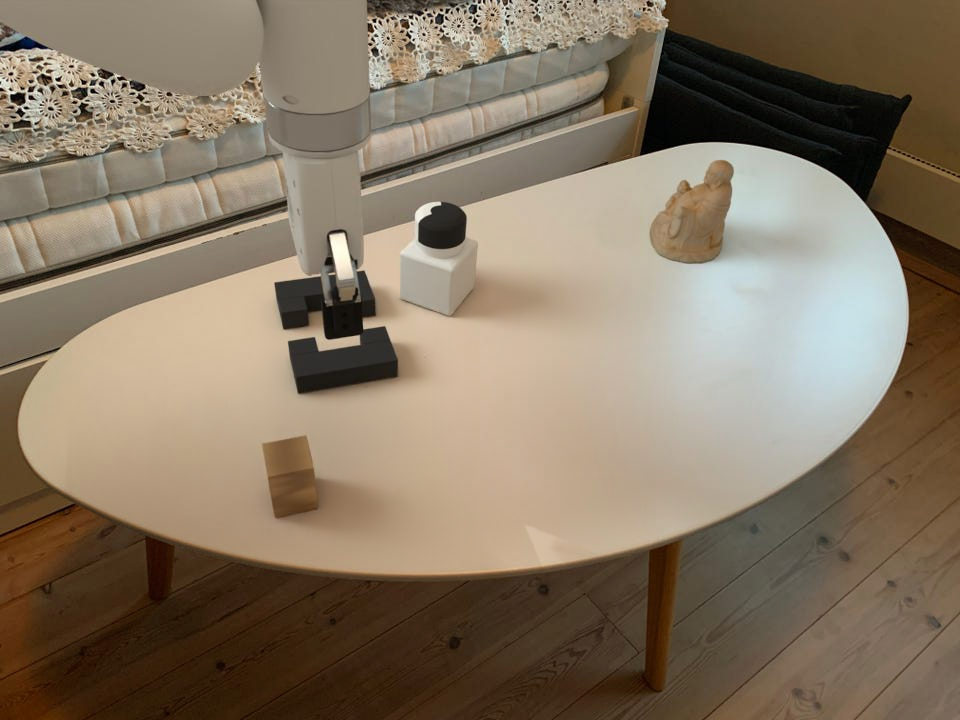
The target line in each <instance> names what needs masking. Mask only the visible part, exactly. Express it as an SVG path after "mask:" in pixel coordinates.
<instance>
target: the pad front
mask: <svg viewBox="0 0 960 720" xmlns="http://www.w3.org/2000/svg"><path fill="white" fill-rule="evenodd" d="M287 347H288V354H289V361H290V364H291V365H290V366H291V369H292V374H293V378H294V382H295V386H296V391H297V394H305V393H311V392H317V391H322V390H328V389H334V388H339V387H345V386H351V385H357V384H361V383H367V382H374V381H380V380H385V379H390V378H391V379H392V378H396V377H398V376H399V359H398V356H397V354H396V351H395V348H394V346H393V344H392V341H391V337H390V335H389V332H388V329H387V327H386V326H385V325H382V326H377V327H370V328H363V333H362V334H361V335H359V344H356V345H351V346H350V345H349V346H345V347H338V348H331V349H325V350H319V347H318V343H317V339H316V337H315V336H312V337H305V338H304V337H303V338H299V339H298V338H297V339H291V340H288V341H287Z"/></svg>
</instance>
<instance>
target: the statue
mask: <svg viewBox="0 0 960 720" xmlns="http://www.w3.org/2000/svg"><path fill="white" fill-rule="evenodd" d="M734 174H735V169H734V166H733V164H732V163H730V162H729V161H727V160H726V159H717V160H713V161H712V162H710V163H709V166H708V167H707V169H706V170H705V176H704V177H703V182H702V183H699V184H696V185H694V186H693V187H691V184H690V183H689V181H687V180H686V179H683V180H681V181H680V182H679V184H678V185H677V187H676V191H675V192H674V193H672V195H670V197H669V198H668V200H667V201H666V203H665V206H664V207H665V209H664V210H662V211H659V212H658V214H657V215H656V216H655V217H654V219H653V222H652V223H651V226H650V229H649V238H650V243H651V245H652V247H653V248H654V251H656V254H657V255H660V256H662V257H663V258H666V259H668V260H671V261H676V262H681V263H684V264H686V263H687V264H694V263H697V264H702V263H705V262H710V261H712V260H714V259H716V257H718V256H719V255H720V252H721V251H722V248H723V243H724V233H725V227H726V219H727V216H728V212H729V210H730V207H731V204H732V201H731V200H732V197H733V186H732V179H733V177H734Z"/></svg>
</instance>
